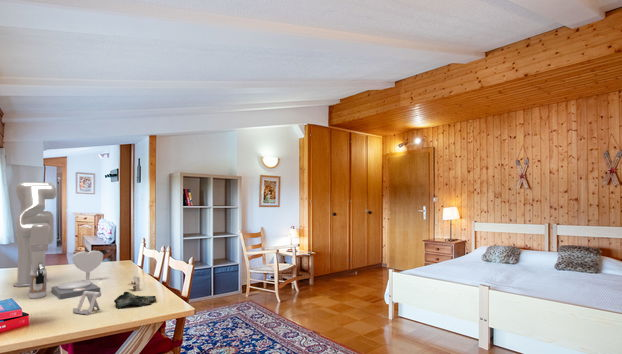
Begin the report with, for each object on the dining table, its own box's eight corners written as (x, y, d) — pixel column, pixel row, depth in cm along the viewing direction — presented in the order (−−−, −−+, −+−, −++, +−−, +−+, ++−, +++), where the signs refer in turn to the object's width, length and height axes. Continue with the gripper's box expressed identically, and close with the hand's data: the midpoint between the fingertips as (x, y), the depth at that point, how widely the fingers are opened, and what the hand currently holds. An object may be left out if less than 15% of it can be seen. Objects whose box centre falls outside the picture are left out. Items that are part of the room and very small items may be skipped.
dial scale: (51, 291, 198) (51, 284, 199) (89, 285, 211) (89, 279, 211) (59, 299, 182) (59, 291, 183) (100, 292, 195) (100, 285, 195)
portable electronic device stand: (72, 313, 160) (73, 294, 160) (89, 308, 167) (89, 289, 168) (87, 315, 157) (87, 295, 157) (103, 310, 164) (103, 291, 165)
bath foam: (28, 299, 183) (29, 258, 184) (29, 296, 189) (31, 257, 190) (45, 297, 187) (46, 257, 188) (46, 294, 193) (47, 255, 194)
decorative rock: (153, 289, 187) (162, 292, 175) (153, 301, 186) (161, 306, 174) (112, 292, 175) (118, 296, 164) (111, 306, 174) (117, 311, 163)
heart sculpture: (101, 278, 228) (102, 249, 229) (102, 280, 224) (103, 250, 225) (71, 282, 219) (72, 252, 220) (72, 284, 215) (73, 253, 216)
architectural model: (133, 292, 196) (133, 278, 196) (127, 290, 200) (127, 277, 201) (139, 291, 199) (139, 277, 199) (133, 289, 203) (133, 275, 203)
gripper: (27, 247, 193) (26, 280, 192) (32, 250, 180) (31, 286, 179) (45, 246, 198) (44, 278, 197) (51, 249, 185) (50, 283, 184)
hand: (38, 282), depth 188 cm, fingers open, 9 cm apart
